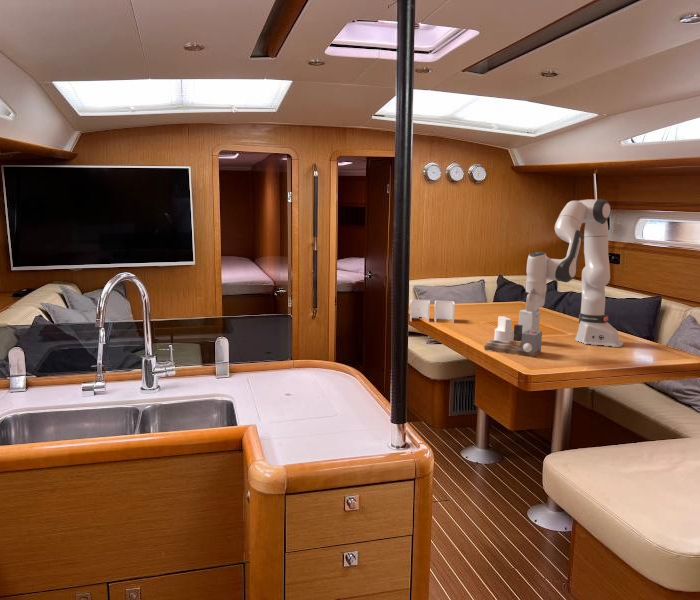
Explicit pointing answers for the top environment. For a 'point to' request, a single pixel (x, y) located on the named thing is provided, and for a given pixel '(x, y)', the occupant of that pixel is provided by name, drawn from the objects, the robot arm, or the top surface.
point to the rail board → (507, 348)
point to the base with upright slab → (503, 329)
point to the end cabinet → (531, 341)
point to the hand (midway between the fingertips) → (534, 318)
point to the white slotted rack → (440, 312)
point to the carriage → (517, 336)
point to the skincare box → (528, 321)
